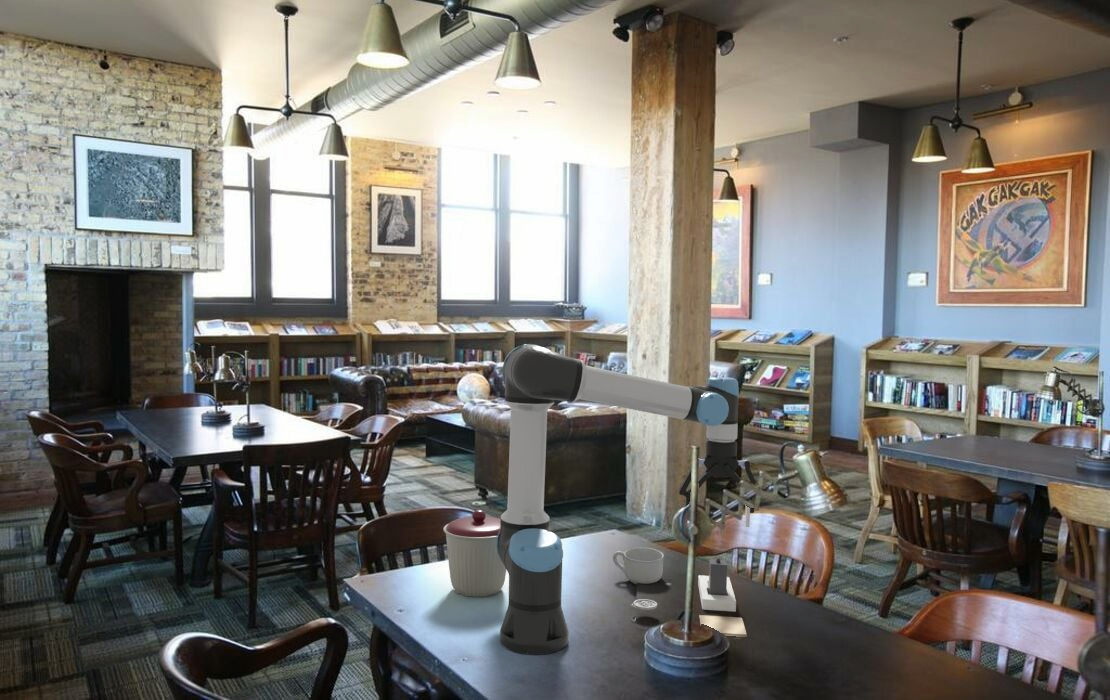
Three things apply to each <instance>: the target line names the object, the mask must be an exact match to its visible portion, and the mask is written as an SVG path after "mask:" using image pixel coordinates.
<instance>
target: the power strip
mask: <svg viewBox="0 0 1110 700" xmlns="http://www.w3.org/2000/svg"><path fill="white" fill-rule="evenodd" d="M697 577H698V578H697V579H698V580H697V585H698V590H699V597H700V602H701V603H700V604H701V609H702V610H705V611H707V610H708V611H720V612H721V611H722V612H735V613H736V612H737V600H736V596H735V592H734V589H733V586H732V582H731V579H730V576H727V587H726V596H723V595H709V575H703V574H701V575H700V574H699V575H698V576H697Z"/></svg>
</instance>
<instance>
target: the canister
mask: <svg viewBox="0 0 1110 700" xmlns="http://www.w3.org/2000/svg"><path fill="white" fill-rule="evenodd" d="M500 522H501V518H498V517H492V516H487V513H486V511H484V510H482V509H475V510H474V511H473V512H472V515H471V516H466V517H460V518H457V519H456V518H455V519H454V520H452V521H451V522H449V523H447V524H446V525H444V526H443V528H442V529H443V533H444V534H445V539H446V549H447V558H448V568H449V576H450V583H451V586H452V588H453V590H454V591H455V592H456V593H458V594H460V595H462V596H464V597H465V596H466V597H472V598H473V597H474V598H482V597H488V596H492V595H495V594H497V593H499V592H500V591H501V590H502V588H503V586H505V585H504V584H505V581H506V575H507V569H506V568H505V566H504V564H503V563H502V561H501V559H500V558H499V555H498V552H497V545H496V542H497V536H498V533H499V531H500Z"/></svg>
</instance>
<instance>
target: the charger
mask: <svg viewBox="0 0 1110 700" xmlns="http://www.w3.org/2000/svg"><path fill="white" fill-rule="evenodd" d="M708 569H709V570H708V576H709V595H723V596H726V587H727V577H728V563H727V560H726V559H721V557H716V559H712V558H711V559H709V567H708Z"/></svg>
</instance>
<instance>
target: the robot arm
mask: <svg viewBox="0 0 1110 700" xmlns="http://www.w3.org/2000/svg"><path fill="white" fill-rule="evenodd" d="M502 374H503V375H502V378H503V379H504V381H505V382H504V383H505V384H504V403H505V404H506V405H507V406H508V407H509V408H510V422H509V424H510V425H509V428H510V430H509V449H508V450H509V451H508V452H509V454H508V455H509V456H508V457H509V459H508V480H507V482H508V483H507V505H506V506H507V507H506V508H507V509H506V510H505V511H504V512H503V513H502V514H501V515H500V519H501V522H500V531H499V533H498V536H497V542H496V545H497V552H498V555H499V558H500V559H501V561H502V563H503V564H504V566H505V568H506V572H507V573H508V606H507V609H506V611H505V615H504V618H503V620H502V624H501V626H500V631H499V642H500V644H501V645H502V646H503V647H504V648H506V649H507V650H509V651H512V652H515V653H518V654H519V653H520V654H525V655H545V654H551V653H554V652H555V653H556V652H558V651H561V650H562V649H564V648H565V647H566V646H567V645H568V643H569V627H568V624H567V622H566V617H565V615H564V611H563V608H562V593H563V592H562V586H563V585H562V584H563V581H562V580H563V557H564V550H563V542H562V540H561V538H560V537H559V536H558V534H556V533H555V532H552V531H550V523H551V522H550V518H551V517H550V516H549V515H548V513H546V511H545V510H544V509H545V508H544V507H545V484H546V481H545V480H546V478H545V477H546V458H547V457H546V455H547V454H546V453H547V428H548V427H547V426H548V410H549V409H550V408H551V407H552V406H553V405H555V401H560V402H561V401H562V402H568V403H575V402H576V401H578V400H583V401H588V402H592V403H598V404H603V405H609V406H613V407H619V408H623V409H627V410H628V409H629V410H632V411H639V412H644V413H648V414H653V415H658V416H662V417H663V416H664V417H669V418H674V419H679V420H682V421H683V420H684V421H689V422H693V423H698V424H702V425H703V426H706V435H705V437H706V438H707V440H706V442H705V443H706V444H705V458H703V459H702V458H698V459H699V468H701V466H702V465H704V467H705V468H706V470H705V471H704V472H703V473H702V474H701V476H699V478H698V479H697V480H698V483H699V489H700V488H701V487H702V486H703V485H704V484H705V482H706V481H708V479H709V478H710V477H713V478H724V479H726V478H729V477H731V478H732V479H733V481H735V483H736V484H737V485H738V483H739V481H740V480H742V479H741V478H740V476H739V475H738V474H737V473H736V469H737V468H738V467H739V466H740V467H741V469H742V470H744V472H745V474H746V475H747V477H748V480H749V482H750V484H751V483H753V484H755V483H757V481H756V478H755V477H754V475H753V472H752V471H751V463H750V461H749V459H747V458H745V459H743V460H738V457H737V456H738V442H737V441H736V440H737V439H738V429H739V428H738V423H739V422H738V417H739V416H738V415H739V398H740V394H739V393H740V391H739V381H738V380H737V379H736V378H734V377H728V376H725V377H723V376H715V377H714V376H713V377H709V378H708V379H707V383H706V385H679V384H675V383H670V382H666V381H660V380H656V379H651V378H648V377H647V378H646V377H642V376H638V375H632V374H627V373H624V372H623V373H622V372H617V371H613V370H608V369H605V368H599V367H594V366H589V365H586V364H585V363H584V361H583V360H582V359H578V358H574V357H570V356H567V355H565V354H562V353H559V352H556V351H554V350H552V349H550V348H547V347H543V346H540V345H538V344H532V343H528V344H526V343H525V344H521V345H519V346H516V347H515V348H513V349H512V350H511V351H510V352H508V354H507V355H506V357H505V359H504V361H503V364H502ZM691 481H692V480H691V468H690V469H689V470H688V472H687V475H686V476H685V478H684V480H683V482H682V483H681V485H680V487H679V489H678V493H679V495H680V496H684V497H685V507H686V506H687V505H688V504H689V502H690V492H691V487H689V486H690V483H691ZM688 487H689V488H688ZM687 489H688V490H687ZM751 500H752V498H751ZM744 513H745V514H744V515H745V516H744V518H745V519H744V525H745V526H746V528H750V524H751V523H750V522H751V521H750V519H751V517H750V516H751V514H754V513H755V507H754V508H749V507H747V506H746V505H745V512H744Z"/></svg>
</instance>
